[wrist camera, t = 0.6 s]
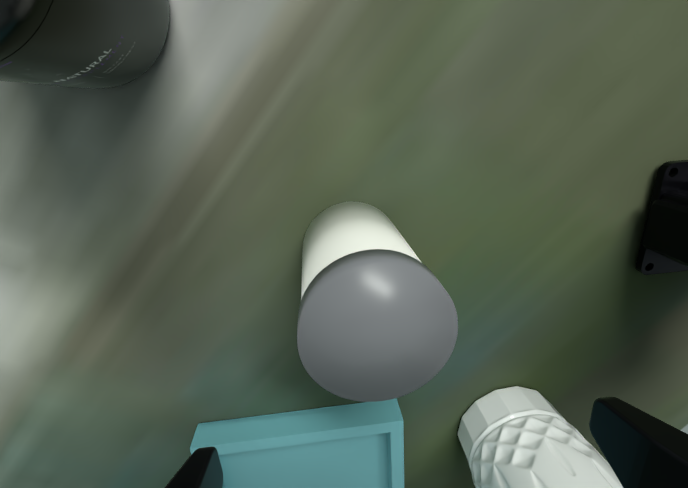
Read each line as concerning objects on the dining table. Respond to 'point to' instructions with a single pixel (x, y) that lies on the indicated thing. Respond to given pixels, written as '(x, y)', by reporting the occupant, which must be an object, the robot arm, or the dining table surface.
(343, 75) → the dining table surface
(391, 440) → the tray
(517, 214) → the dining table surface
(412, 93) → the dining table surface
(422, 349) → the spice jar
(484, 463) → the white cup
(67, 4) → the supplement bottle
